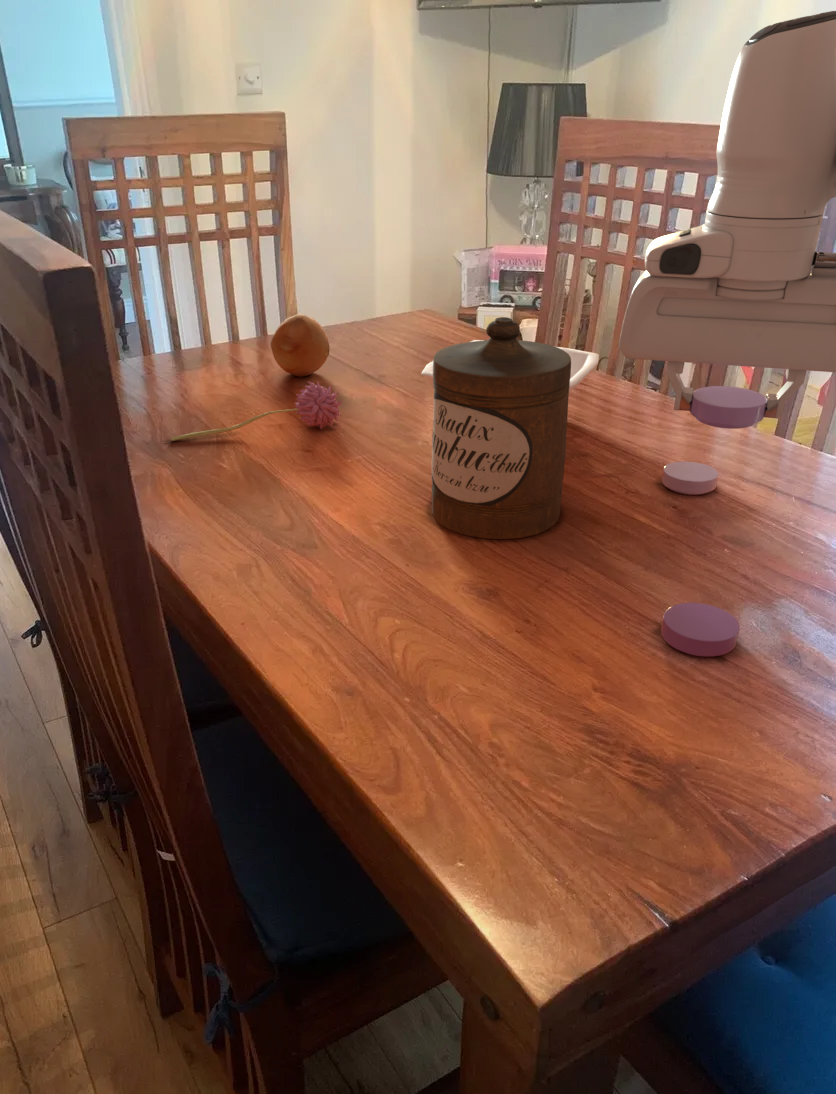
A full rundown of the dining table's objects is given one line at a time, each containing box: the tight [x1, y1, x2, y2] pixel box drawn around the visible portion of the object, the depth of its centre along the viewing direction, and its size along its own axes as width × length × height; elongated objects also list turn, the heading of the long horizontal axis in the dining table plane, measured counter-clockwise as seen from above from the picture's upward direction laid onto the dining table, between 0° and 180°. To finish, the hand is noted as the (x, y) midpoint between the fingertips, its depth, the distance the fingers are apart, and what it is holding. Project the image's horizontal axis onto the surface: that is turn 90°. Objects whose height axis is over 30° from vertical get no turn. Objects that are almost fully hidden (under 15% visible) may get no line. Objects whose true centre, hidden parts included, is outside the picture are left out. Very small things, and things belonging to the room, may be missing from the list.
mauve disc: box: [660, 602, 741, 657], centre depth 76 cm, size 6×6×2 cm
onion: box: [270, 313, 331, 377], centre depth 147 cm, size 10×10×10 cm
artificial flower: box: [170, 380, 343, 442], centre depth 123 cm, size 7×7×25 cm
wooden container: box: [431, 316, 571, 540], centre depth 95 cm, size 15×15×22 cm
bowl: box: [420, 339, 600, 394], centre depth 125 cm, size 22×23×8 cm
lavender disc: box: [689, 385, 767, 430], centre depth 78 cm, size 6×6×2 cm
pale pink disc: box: [661, 460, 719, 496], centre depth 105 cm, size 6×6×2 cm
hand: (725, 412), depth 78 cm, fingers closed on lavender disc, 6 cm apart
